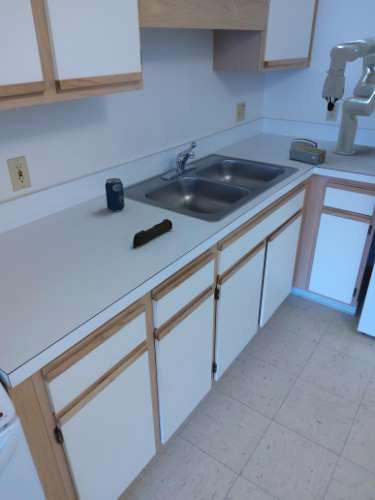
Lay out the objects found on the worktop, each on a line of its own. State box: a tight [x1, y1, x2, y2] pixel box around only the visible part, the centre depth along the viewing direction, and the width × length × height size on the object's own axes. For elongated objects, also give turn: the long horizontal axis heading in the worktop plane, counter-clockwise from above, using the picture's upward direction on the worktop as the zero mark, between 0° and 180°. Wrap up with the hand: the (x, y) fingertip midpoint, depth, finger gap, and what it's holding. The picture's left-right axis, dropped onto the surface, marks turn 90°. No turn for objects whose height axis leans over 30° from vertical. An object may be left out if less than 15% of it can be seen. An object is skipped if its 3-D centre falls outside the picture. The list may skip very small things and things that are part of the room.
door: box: [288, 148, 319, 165], centre depth 216 cm, size 2×17×5 cm, turn 48°
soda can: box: [104, 177, 126, 212], centre depth 155 cm, size 7×7×12 cm
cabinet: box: [290, 145, 327, 165], centre depth 220 cm, size 8×17×6 cm, turn 53°
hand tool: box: [132, 218, 173, 249], centre depth 135 cm, size 19×4×5 cm, turn 142°
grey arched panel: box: [290, 137, 319, 149], centre depth 233 cm, size 17×5×10 cm, turn 53°
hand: (330, 110), depth 207 cm, fingers closed
